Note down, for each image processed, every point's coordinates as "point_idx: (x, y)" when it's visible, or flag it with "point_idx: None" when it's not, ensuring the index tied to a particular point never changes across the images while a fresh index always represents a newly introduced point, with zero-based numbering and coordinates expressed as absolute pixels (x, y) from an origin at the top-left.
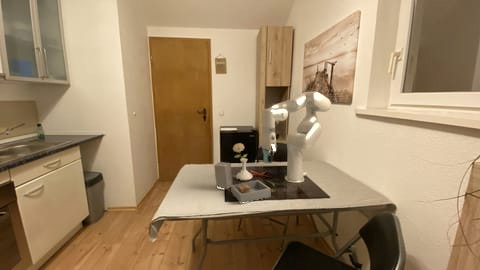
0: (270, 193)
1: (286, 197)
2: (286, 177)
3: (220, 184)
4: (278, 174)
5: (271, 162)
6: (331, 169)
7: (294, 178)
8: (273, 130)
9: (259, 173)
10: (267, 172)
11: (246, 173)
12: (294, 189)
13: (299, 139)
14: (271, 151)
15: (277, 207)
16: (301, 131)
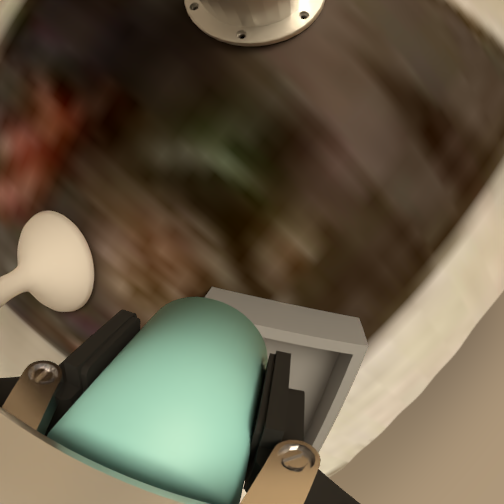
0: (362, 330)
1: (422, 250)
2: (210, 21)
3: None
4: (118, 24)
5: (265, 347)
6: None
7: (290, 8)
8: None
9: (41, 125)
10: (56, 71)
11: (55, 276)
12: (382, 115)
13: None
14: (233, 501)
15: (442, 357)
16: None
